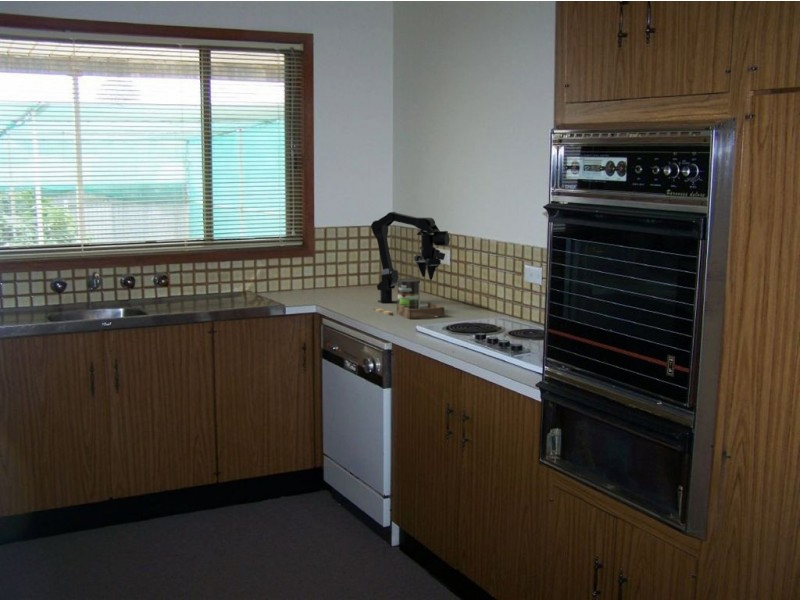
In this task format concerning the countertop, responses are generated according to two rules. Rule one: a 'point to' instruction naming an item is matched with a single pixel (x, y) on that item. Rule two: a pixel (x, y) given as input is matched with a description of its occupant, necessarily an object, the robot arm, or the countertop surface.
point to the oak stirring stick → (383, 311)
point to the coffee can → (409, 293)
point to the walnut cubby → (421, 311)
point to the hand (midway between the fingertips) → (427, 278)
